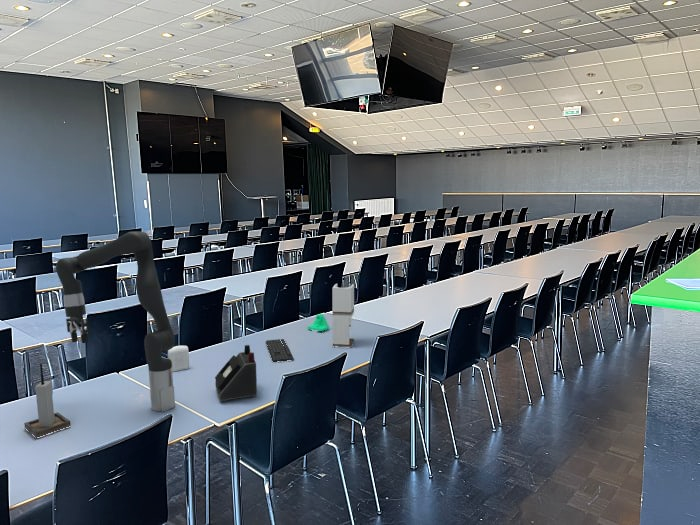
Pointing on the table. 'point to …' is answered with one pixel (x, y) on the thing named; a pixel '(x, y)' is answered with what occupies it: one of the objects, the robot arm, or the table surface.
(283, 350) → the keyboard
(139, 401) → the table surface
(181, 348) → the photo printer
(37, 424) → the brown square tray
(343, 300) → the tall grey pillar
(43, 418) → the vintage mobile phone
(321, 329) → the green draped cloth
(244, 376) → the voltmeter
